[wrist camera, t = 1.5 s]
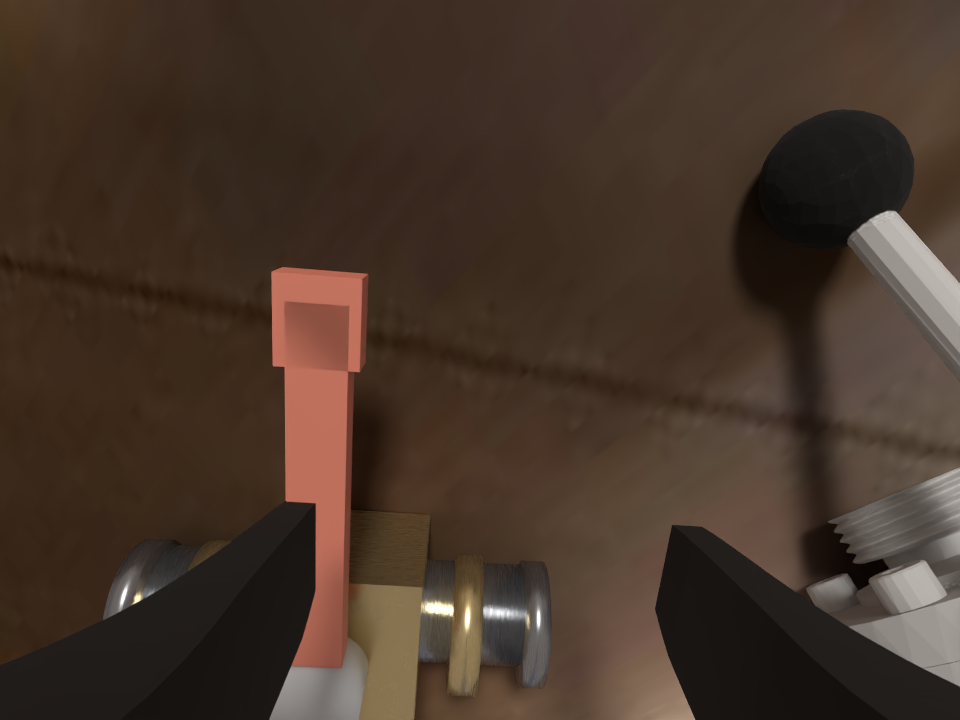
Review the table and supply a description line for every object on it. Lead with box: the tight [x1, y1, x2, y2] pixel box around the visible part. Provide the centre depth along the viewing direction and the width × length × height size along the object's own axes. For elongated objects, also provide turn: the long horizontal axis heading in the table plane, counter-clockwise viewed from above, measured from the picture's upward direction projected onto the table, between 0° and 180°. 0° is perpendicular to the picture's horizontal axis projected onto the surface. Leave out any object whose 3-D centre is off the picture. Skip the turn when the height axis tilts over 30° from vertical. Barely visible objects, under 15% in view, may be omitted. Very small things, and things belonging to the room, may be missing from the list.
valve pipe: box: [103, 505, 551, 720], centre depth 22 cm, size 15×6×5 cm, turn 85°
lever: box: [269, 267, 368, 720], centre depth 17 cm, size 15×3×2 cm, turn 175°
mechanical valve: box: [758, 110, 960, 686], centre depth 20 cm, size 10×18×15 cm
